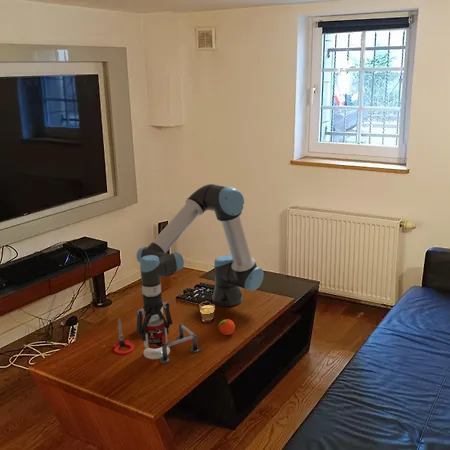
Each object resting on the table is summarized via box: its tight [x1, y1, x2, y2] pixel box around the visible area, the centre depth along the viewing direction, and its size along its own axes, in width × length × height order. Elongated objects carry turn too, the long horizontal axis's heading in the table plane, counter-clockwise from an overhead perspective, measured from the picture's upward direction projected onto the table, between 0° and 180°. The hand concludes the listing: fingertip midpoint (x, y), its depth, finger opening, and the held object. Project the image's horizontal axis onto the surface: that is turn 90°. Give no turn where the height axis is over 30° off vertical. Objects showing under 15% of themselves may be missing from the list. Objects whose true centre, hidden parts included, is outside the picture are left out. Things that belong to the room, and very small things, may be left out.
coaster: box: [142, 346, 171, 360], centre depth 229 cm, size 11×11×1 cm
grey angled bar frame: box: [159, 323, 202, 364], centre depth 230 cm, size 18×16×7 cm
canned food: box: [146, 316, 166, 349], centre depth 227 cm, size 8×8×11 cm
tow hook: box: [113, 318, 135, 356], centre depth 231 cm, size 8×13×9 cm
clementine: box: [217, 318, 236, 336], centre depth 241 cm, size 8×7×7 cm
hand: (155, 343), depth 228 cm, fingers closed on canned food, 8 cm apart
